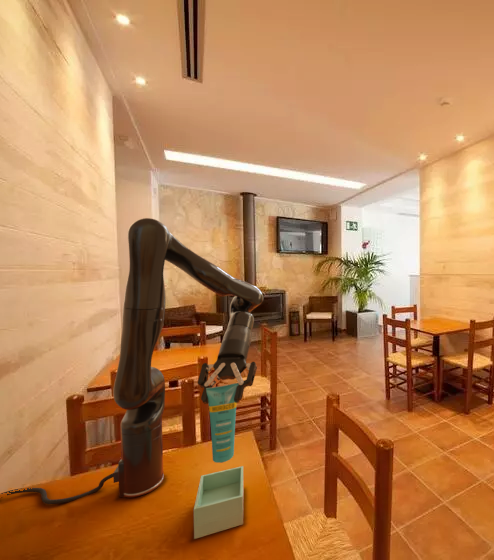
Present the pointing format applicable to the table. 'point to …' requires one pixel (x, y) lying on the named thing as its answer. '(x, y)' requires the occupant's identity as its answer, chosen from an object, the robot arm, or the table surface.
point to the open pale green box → (219, 502)
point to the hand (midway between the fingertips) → (220, 402)
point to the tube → (222, 421)
